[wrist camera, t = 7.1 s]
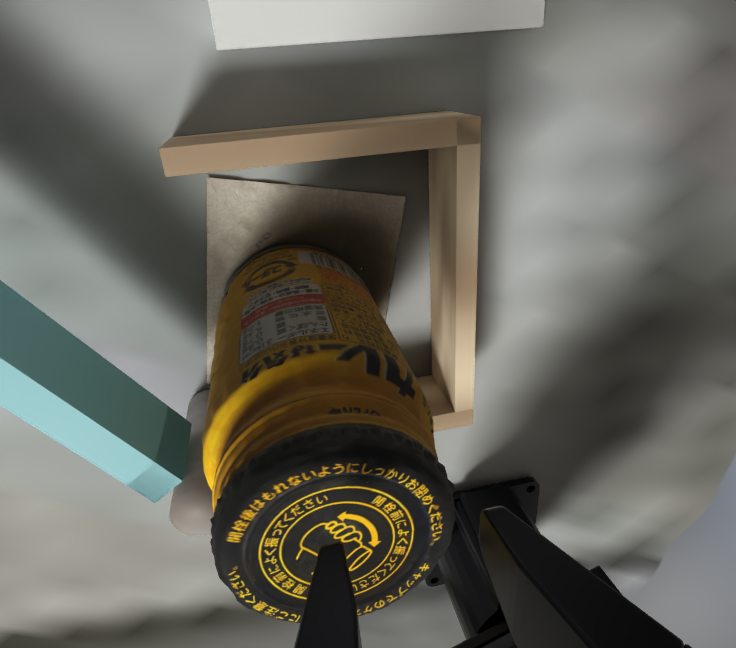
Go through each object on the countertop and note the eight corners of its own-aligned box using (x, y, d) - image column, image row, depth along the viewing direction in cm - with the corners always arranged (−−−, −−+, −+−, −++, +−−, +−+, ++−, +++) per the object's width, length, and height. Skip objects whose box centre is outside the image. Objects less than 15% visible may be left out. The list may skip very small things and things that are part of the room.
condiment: (207, 381, 22) (169, 674, 11) (207, 176, 18) (151, 319, 8) (374, 381, 23) (478, 634, 13) (403, 194, 20) (578, 332, 9)
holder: (448, 386, 24) (504, 472, 19) (194, 432, 23) (178, 542, 17) (448, 110, 19) (526, 125, 14) (112, 142, 17) (52, 174, 12)
